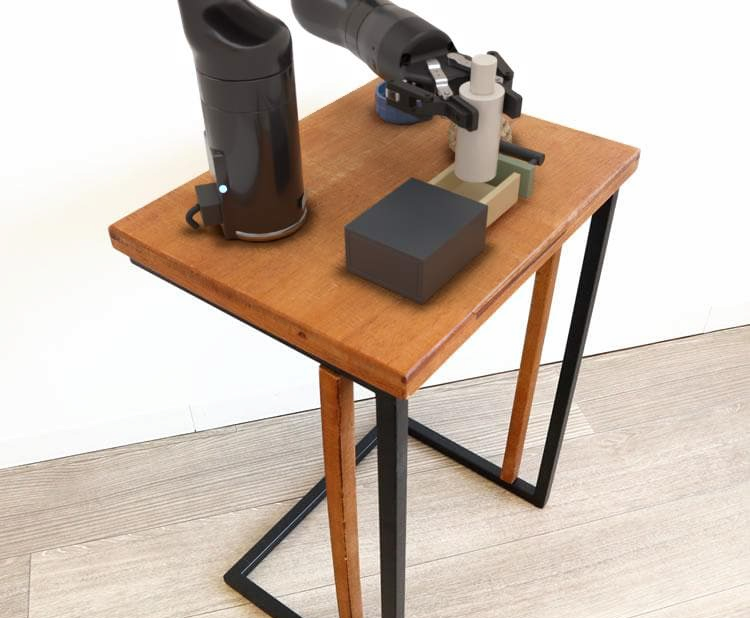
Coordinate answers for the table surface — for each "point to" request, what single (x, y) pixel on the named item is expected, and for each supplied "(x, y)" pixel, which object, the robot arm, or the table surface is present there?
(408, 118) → the bowl
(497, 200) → the drawer
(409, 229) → the cabinet
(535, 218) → the table surface
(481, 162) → the bottle
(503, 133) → the seashell
